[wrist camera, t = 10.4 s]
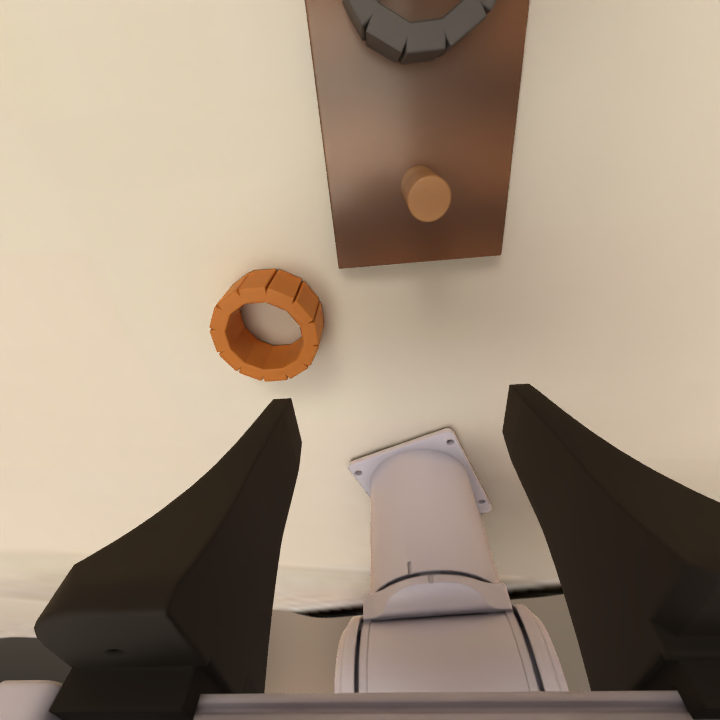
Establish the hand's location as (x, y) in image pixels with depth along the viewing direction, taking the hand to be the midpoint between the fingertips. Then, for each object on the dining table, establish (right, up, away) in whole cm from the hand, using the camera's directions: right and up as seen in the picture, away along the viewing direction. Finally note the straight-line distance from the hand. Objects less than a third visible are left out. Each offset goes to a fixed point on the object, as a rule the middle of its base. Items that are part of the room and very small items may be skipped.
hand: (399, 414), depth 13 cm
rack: (+1, +13, +3) cm, 13 cm away
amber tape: (-6, +4, +9) cm, 11 cm away
